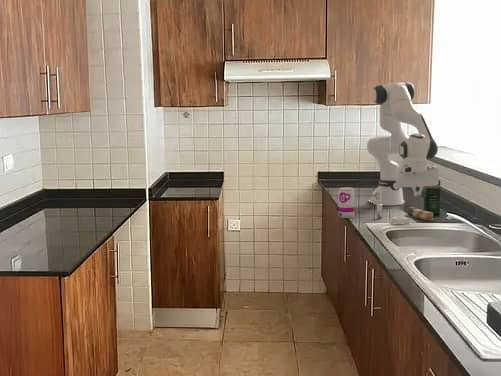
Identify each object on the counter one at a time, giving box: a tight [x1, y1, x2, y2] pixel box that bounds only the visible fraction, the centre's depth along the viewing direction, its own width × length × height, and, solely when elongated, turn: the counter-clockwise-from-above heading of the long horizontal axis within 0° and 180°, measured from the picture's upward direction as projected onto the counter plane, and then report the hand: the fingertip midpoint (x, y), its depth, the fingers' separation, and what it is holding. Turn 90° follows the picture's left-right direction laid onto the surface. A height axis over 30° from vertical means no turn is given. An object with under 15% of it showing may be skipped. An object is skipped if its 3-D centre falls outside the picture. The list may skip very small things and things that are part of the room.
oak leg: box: [407, 206, 434, 219], centre depth 288 cm, size 17×4×3 cm, turn 19°
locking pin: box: [376, 204, 383, 220], centre depth 290 cm, size 3×3×7 cm
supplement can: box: [337, 186, 356, 219], centre depth 297 cm, size 8×8×15 cm
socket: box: [390, 216, 410, 225], centre depth 275 cm, size 6×6×2 cm
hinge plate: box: [405, 213, 435, 221], centre depth 289 cm, size 18×6×1 cm, turn 20°
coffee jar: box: [423, 179, 441, 216], centre depth 297 cm, size 10×8×19 cm
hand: (417, 195), depth 283 cm, fingers closed
